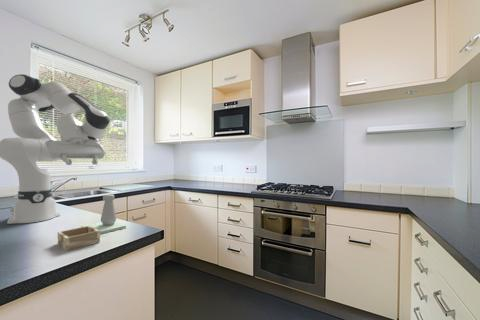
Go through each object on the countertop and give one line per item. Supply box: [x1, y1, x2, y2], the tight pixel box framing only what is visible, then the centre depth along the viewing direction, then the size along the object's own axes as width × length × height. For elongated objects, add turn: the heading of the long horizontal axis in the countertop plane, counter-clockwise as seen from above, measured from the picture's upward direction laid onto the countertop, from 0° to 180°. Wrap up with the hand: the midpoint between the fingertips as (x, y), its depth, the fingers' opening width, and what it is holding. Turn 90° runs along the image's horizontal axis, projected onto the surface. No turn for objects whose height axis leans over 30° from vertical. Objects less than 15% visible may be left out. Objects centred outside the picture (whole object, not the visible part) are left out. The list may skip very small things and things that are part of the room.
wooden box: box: [57, 226, 101, 252], centre depth 76 cm, size 10×10×4 cm
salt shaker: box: [100, 193, 117, 226], centre depth 94 cm, size 6×6×13 cm
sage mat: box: [80, 220, 127, 235], centre depth 92 cm, size 14×12×1 cm
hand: (82, 163), depth 92 cm, fingers open, 8 cm apart
